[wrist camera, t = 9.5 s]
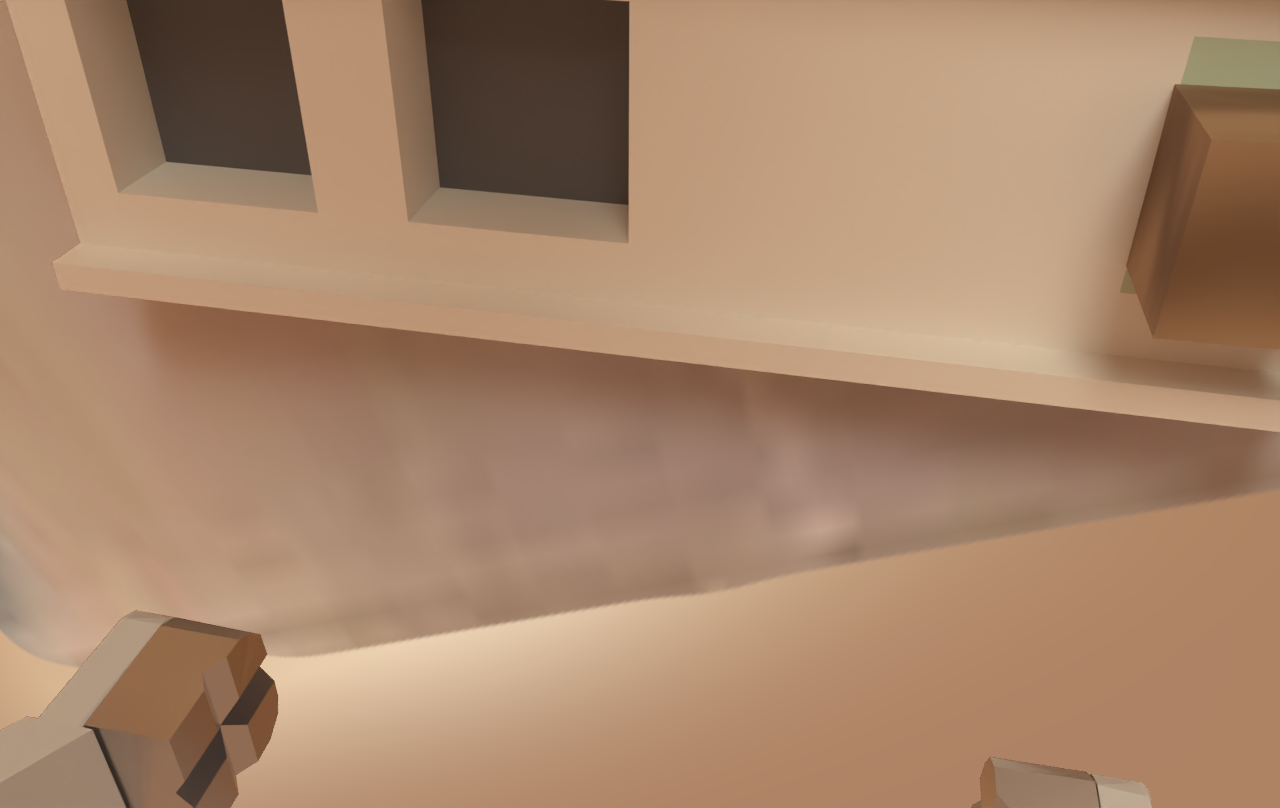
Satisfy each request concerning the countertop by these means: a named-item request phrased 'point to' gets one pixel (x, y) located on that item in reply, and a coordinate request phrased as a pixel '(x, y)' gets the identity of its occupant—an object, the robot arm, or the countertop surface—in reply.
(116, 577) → the countertop surface
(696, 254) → the trap track
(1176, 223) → the walnut block
